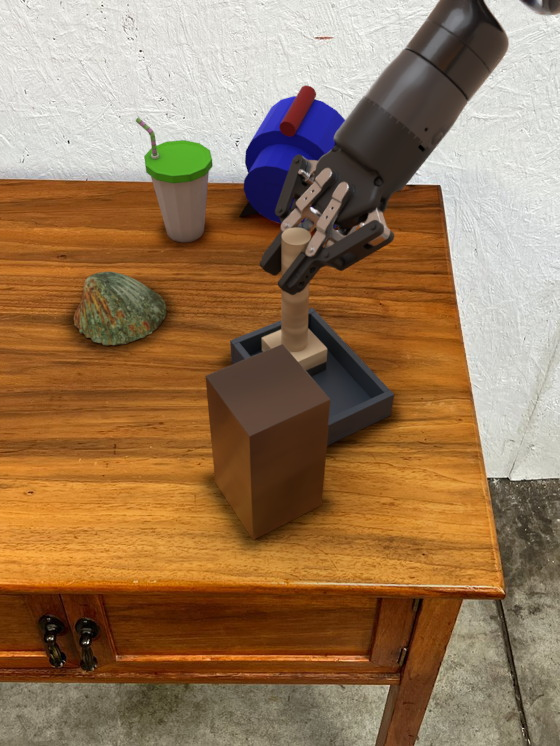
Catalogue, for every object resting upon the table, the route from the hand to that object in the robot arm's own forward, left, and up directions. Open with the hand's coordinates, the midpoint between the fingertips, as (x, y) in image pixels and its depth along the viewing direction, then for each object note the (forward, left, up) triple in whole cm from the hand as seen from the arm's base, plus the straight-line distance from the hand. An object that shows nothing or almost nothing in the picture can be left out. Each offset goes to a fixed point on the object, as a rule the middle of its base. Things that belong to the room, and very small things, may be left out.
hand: (276, 280), depth 70 cm
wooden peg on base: (0, -2, -12) cm, 12 cm away
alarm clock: (+24, -17, -13) cm, 32 cm away
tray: (-3, -2, -13) cm, 13 cm away
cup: (+27, -3, -13) cm, 30 cm away
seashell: (+17, +10, -13) cm, 23 cm away
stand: (-12, +8, -13) cm, 19 cm away
